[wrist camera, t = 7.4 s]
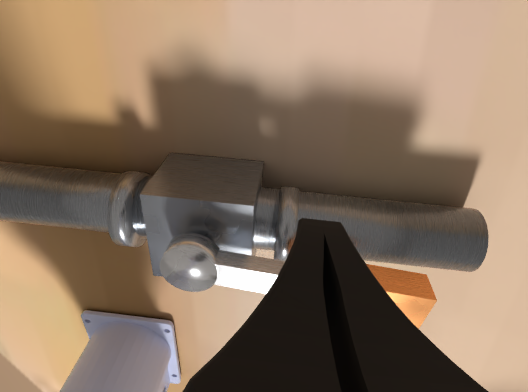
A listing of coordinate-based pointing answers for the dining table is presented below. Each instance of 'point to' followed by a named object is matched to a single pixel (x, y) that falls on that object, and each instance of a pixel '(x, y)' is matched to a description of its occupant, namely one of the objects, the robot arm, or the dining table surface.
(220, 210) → the valve pipe
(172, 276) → the valve lever
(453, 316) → the dining table surface
